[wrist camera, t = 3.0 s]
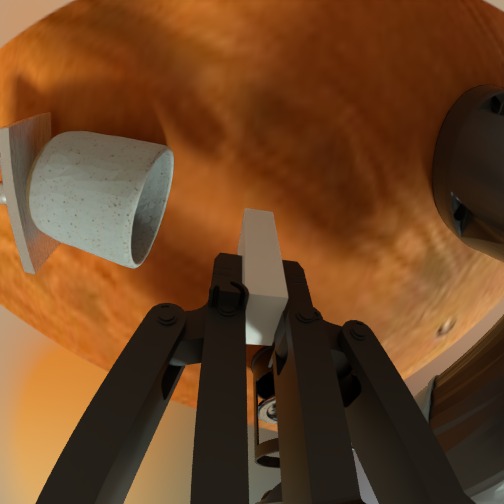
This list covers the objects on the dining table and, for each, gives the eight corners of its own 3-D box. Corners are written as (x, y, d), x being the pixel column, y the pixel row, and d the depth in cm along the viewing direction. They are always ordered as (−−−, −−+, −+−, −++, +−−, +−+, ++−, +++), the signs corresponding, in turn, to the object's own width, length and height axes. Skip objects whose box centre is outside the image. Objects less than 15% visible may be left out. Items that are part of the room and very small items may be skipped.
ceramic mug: (79, 118, 16) (10, 149, 10) (182, 134, 17) (143, 171, 11) (77, 237, 22) (33, 295, 16) (161, 258, 23) (134, 328, 17)
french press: (241, 380, 33) (240, 556, 14) (250, 334, 28) (253, 569, 9) (329, 381, 34) (354, 542, 15) (356, 338, 29) (403, 538, 10)
